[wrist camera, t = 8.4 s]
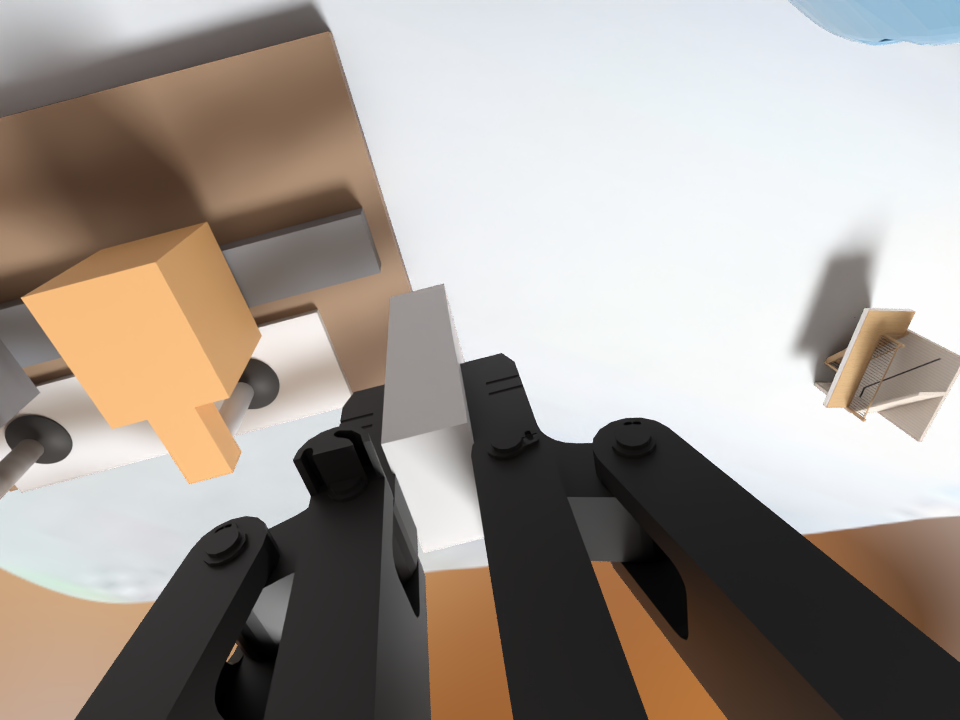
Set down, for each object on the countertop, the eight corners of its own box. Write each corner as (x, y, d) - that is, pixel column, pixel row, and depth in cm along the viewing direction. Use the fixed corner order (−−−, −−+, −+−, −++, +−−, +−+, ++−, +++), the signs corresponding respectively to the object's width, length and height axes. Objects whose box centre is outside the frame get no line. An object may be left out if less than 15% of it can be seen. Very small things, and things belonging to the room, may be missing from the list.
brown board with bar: (-222, 179, 25) (-525, 232, 17) (332, 33, 25) (299, 15, 17) (25, 475, 34) (-95, 605, 25) (435, 365, 34) (447, 460, 26)
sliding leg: (106, 246, 25) (20, 297, 20) (210, 218, 25) (155, 261, 20) (202, 412, 30) (156, 493, 24) (291, 389, 30) (265, 463, 24)
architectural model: (789, 381, 38) (869, 445, 32) (825, 287, 35) (922, 338, 29) (832, 381, 39) (919, 444, 32) (872, 289, 36) (978, 339, 29)
